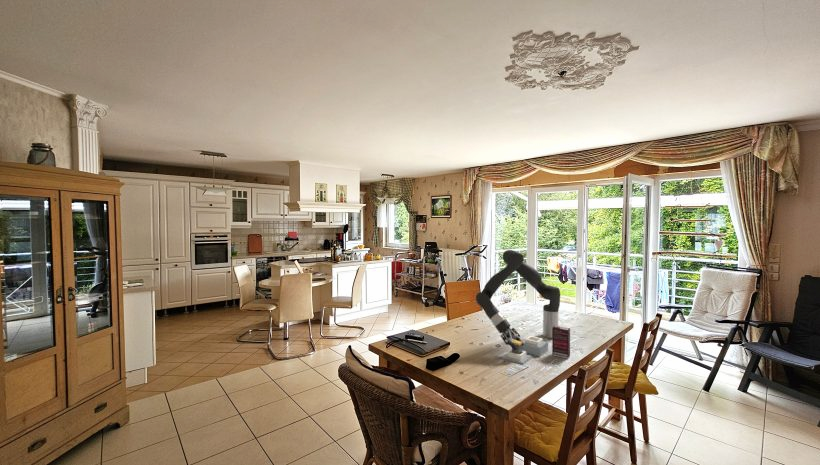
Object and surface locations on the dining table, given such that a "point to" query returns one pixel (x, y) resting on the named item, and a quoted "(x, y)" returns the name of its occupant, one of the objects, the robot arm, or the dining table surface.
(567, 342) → the supplement box
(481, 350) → the dining table surface
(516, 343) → the plug
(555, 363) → the dining table surface
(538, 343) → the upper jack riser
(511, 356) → the plate
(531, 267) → the robot arm
